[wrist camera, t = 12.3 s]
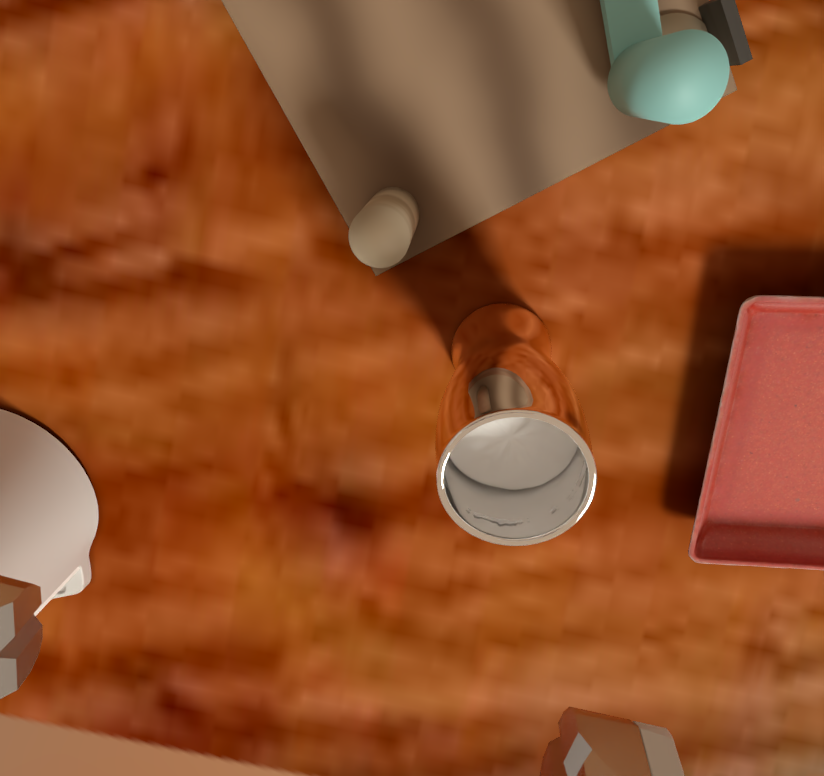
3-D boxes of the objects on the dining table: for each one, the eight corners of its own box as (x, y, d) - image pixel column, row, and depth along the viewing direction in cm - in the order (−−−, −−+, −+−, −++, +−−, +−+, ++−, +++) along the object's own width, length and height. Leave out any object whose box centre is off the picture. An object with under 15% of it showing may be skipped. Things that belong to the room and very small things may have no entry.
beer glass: (481, 274, 39) (486, 375, 25) (581, 330, 40) (638, 457, 26) (424, 368, 42) (401, 505, 28) (518, 419, 43) (541, 575, 29)
